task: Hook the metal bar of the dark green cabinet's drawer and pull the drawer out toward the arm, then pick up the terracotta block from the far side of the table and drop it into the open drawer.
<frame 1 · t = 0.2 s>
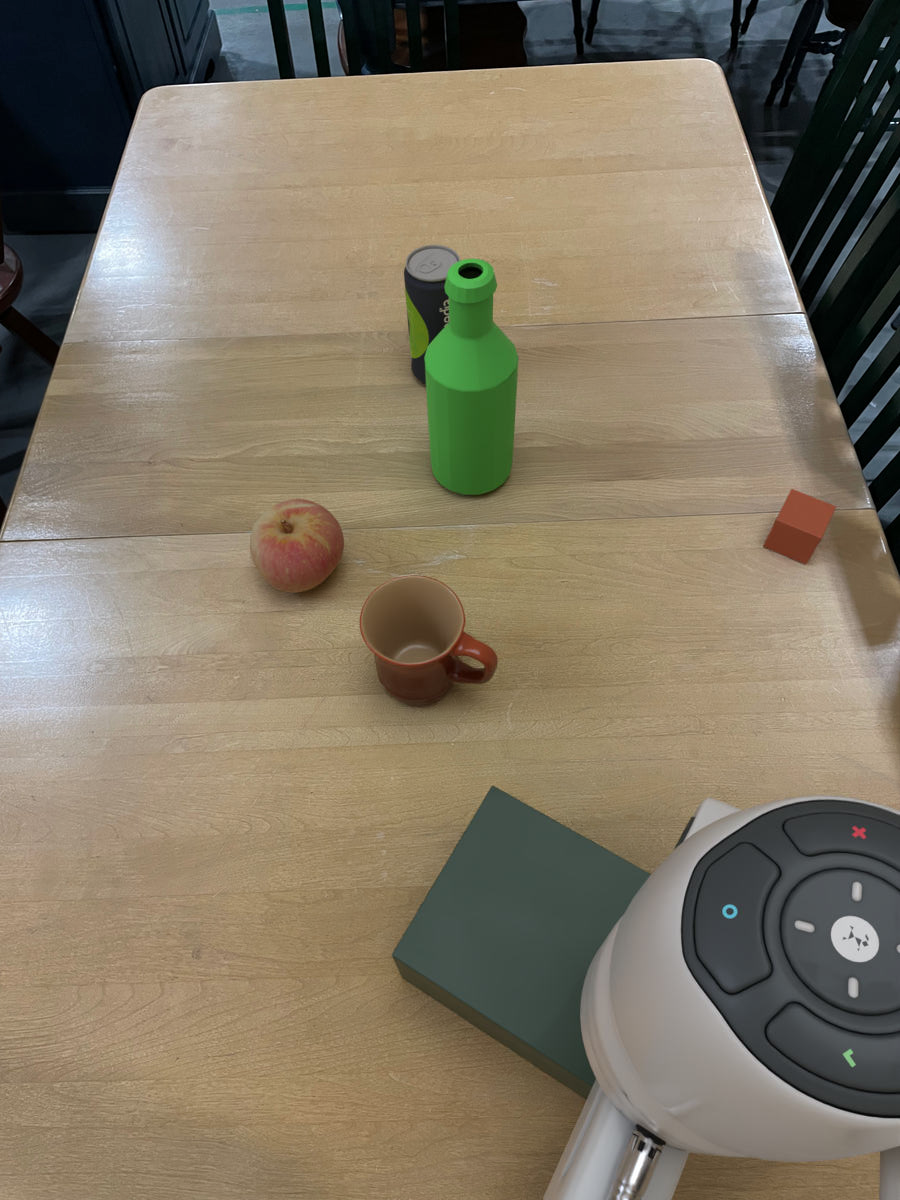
hand: (640, 1048, 44), 20 cm above the table, tool pointing down, fingers open, 8 cm apart
block: (791, 540, 86), on the table
cabinet: (534, 951, 66), on the table
apple: (303, 571, 86), on the table
drawer: (597, 975, 60), point 5 cm above the table, slide at 0.5 cm
beverage can: (438, 373, 100), on the table
bottle: (471, 469, 92), on the table
mug: (434, 682, 79), on the table
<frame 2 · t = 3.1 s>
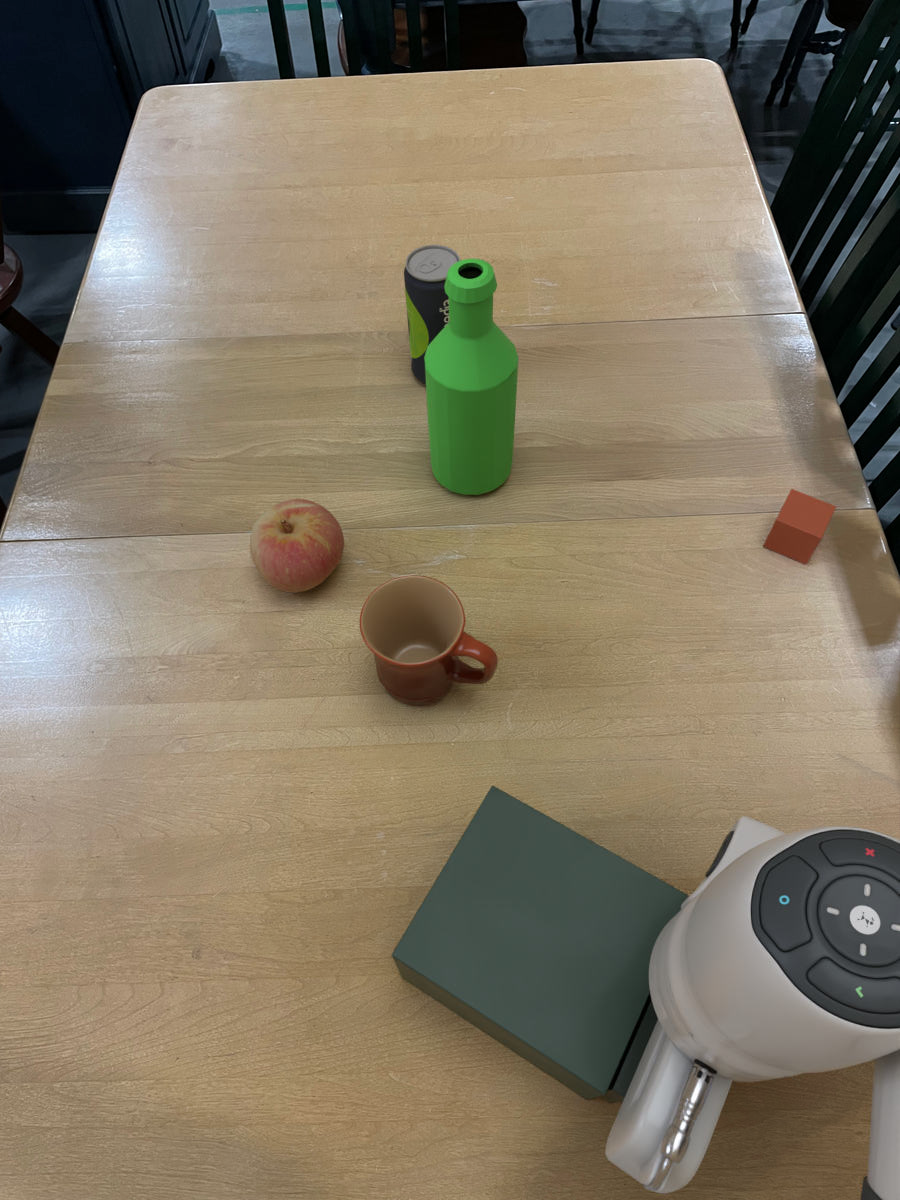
hand: (680, 1012, 55), 9 cm above the table, tool pointing down, fingers closed, pressing on drawer
drawer: (595, 974, 60), point 5 cm above the table, slide at 0.3 cm, touching gripper
everything else where it was.
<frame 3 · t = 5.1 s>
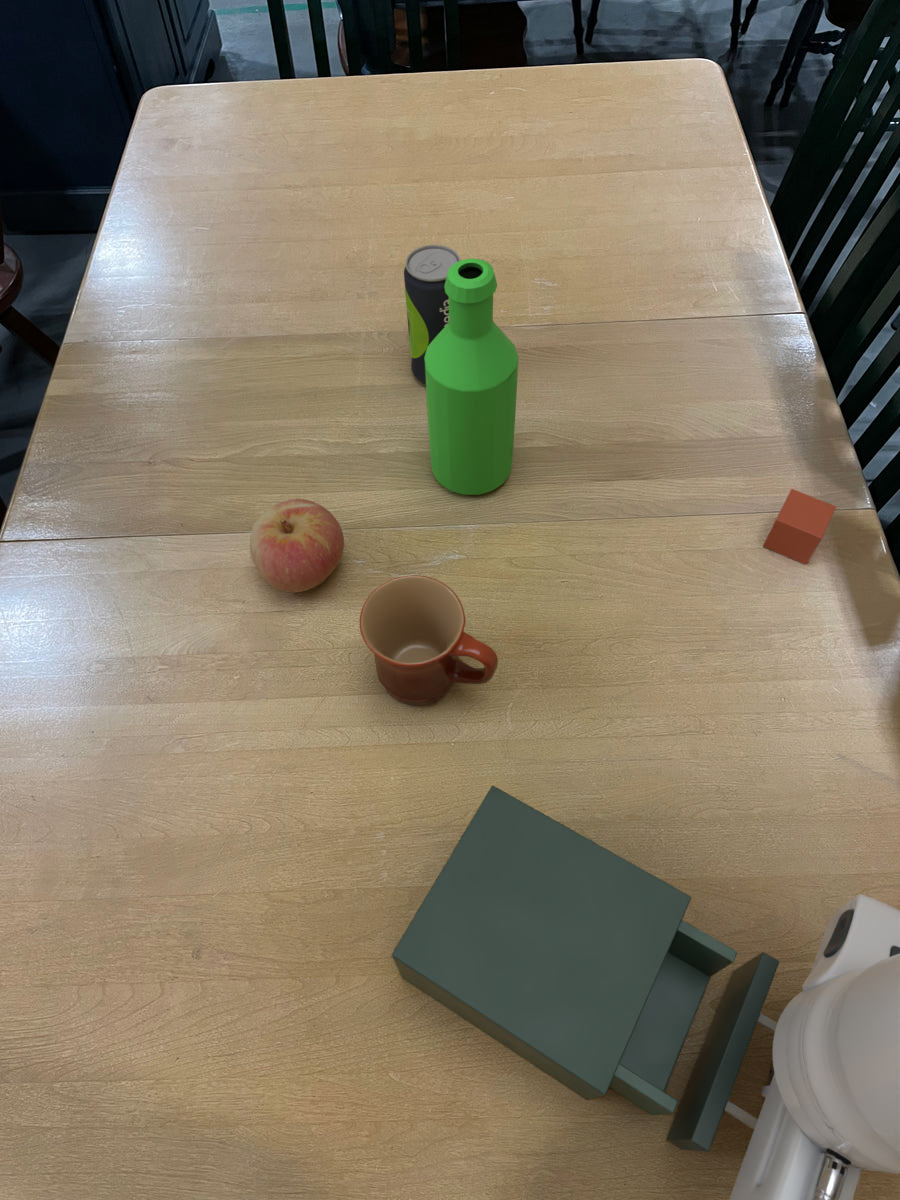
hand: (779, 1080, 55), 6 cm above the table, tool pointing down, fingers closed, pressing on drawer
drawer: (664, 1016, 59), point 5 cm above the table, slide at 5.6 cm, touching gripper
everything else where it was.
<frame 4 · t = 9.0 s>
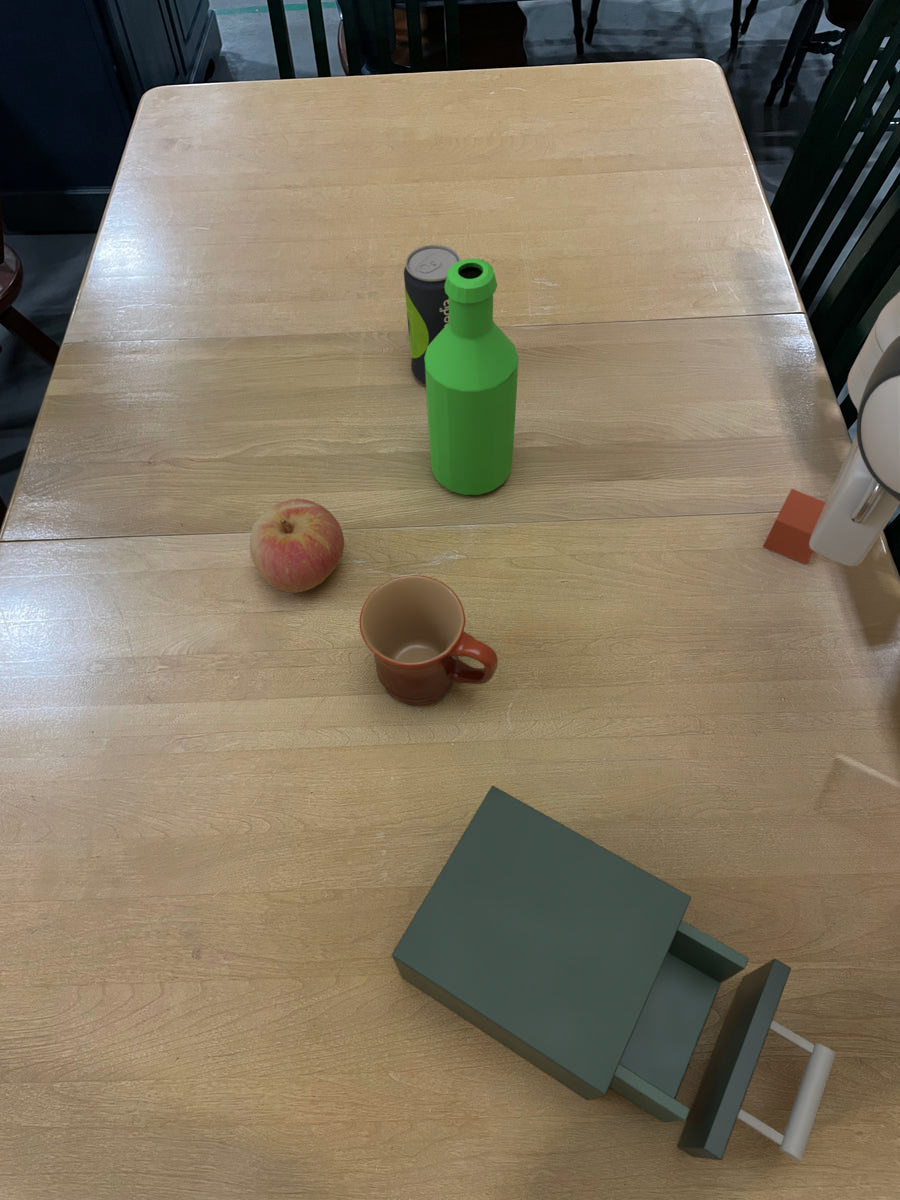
hand: (844, 506, 67), 17 cm above the table, tool pointing down, fingers closed
drawer: (674, 1022, 59), point 5 cm above the table, slide at 6.4 cm
everything else where it was.
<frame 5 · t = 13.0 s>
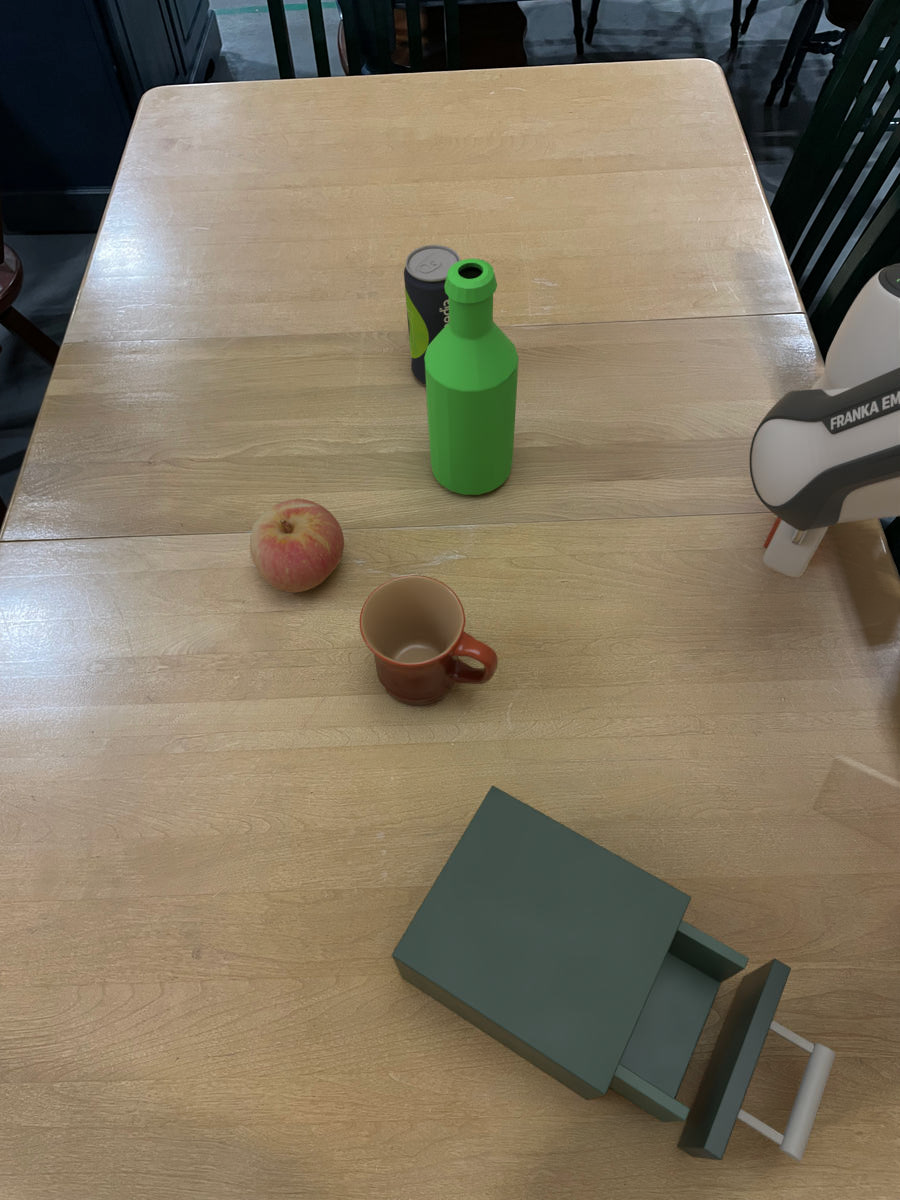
hand: (797, 530, 85), 2 cm above the table, tool pointing down, fingers closed on block, 4 cm apart
block: (791, 540, 86), on the table, touching gripper
everything else where it was.
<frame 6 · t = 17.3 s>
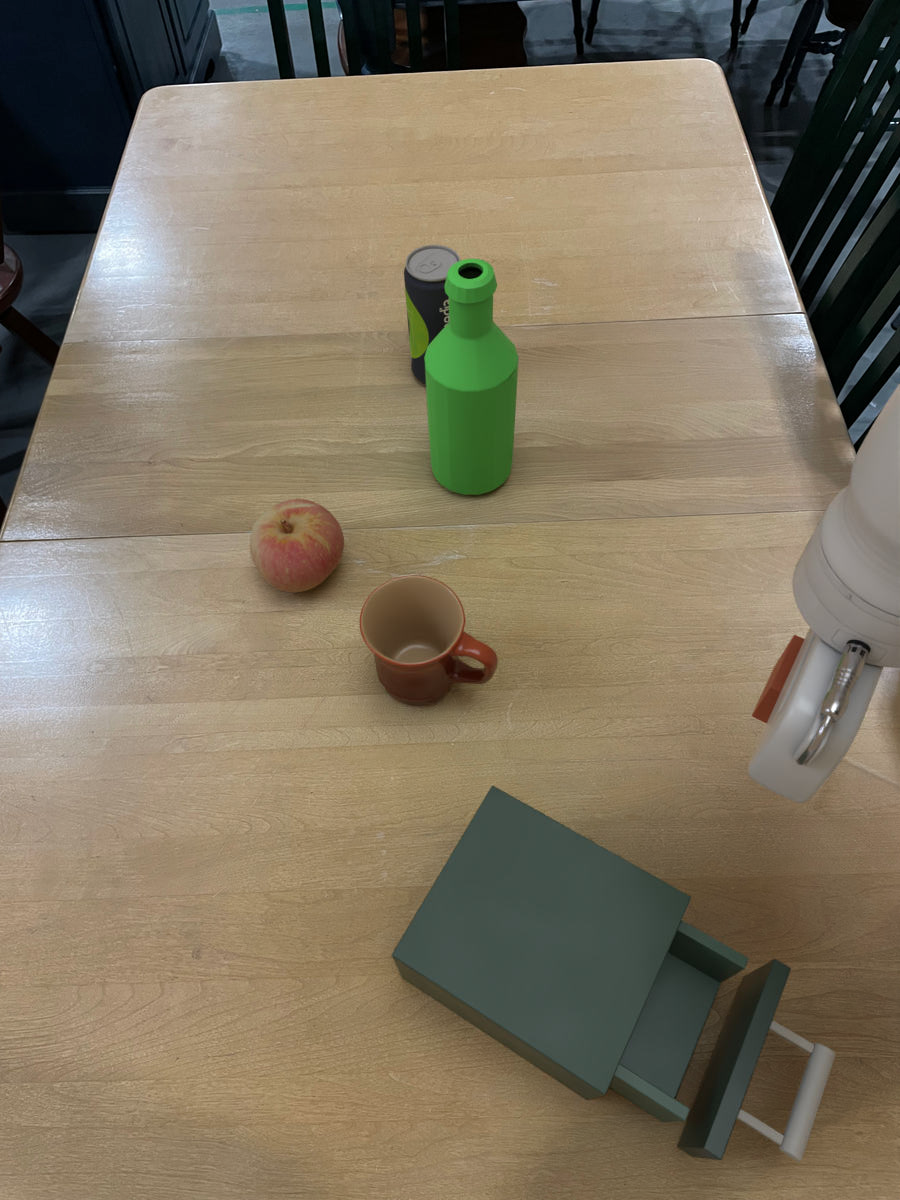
hand: (803, 696, 56), 19 cm above the table, tool pointing down, fingers closed on block, 4 cm apart
block: (794, 706, 58), point 17 cm above the table, touching gripper
everything else where it was.
when the fingers open (11 cm above the table, at t = 21.6 s): block drops 7 cm, resting on drawer.
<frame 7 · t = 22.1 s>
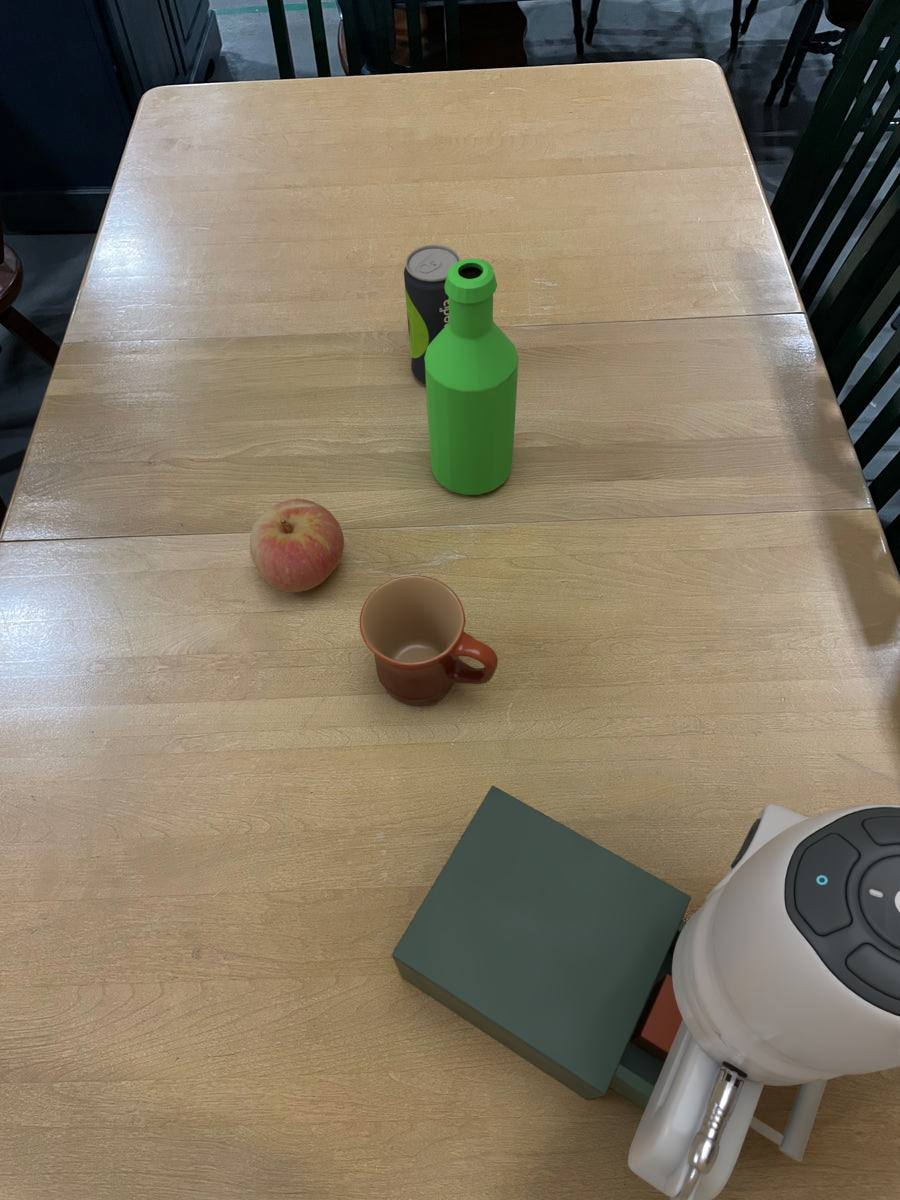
hand: (705, 1014, 53), 12 cm above the table, tool pointing down, fingers open, 8 cm apart
block: (671, 1029, 61), point 2 cm above the table, touching drawer
drawer: (674, 1022, 59), point 5 cm above the table, slide at 6.4 cm, touching block
everything else where it was.
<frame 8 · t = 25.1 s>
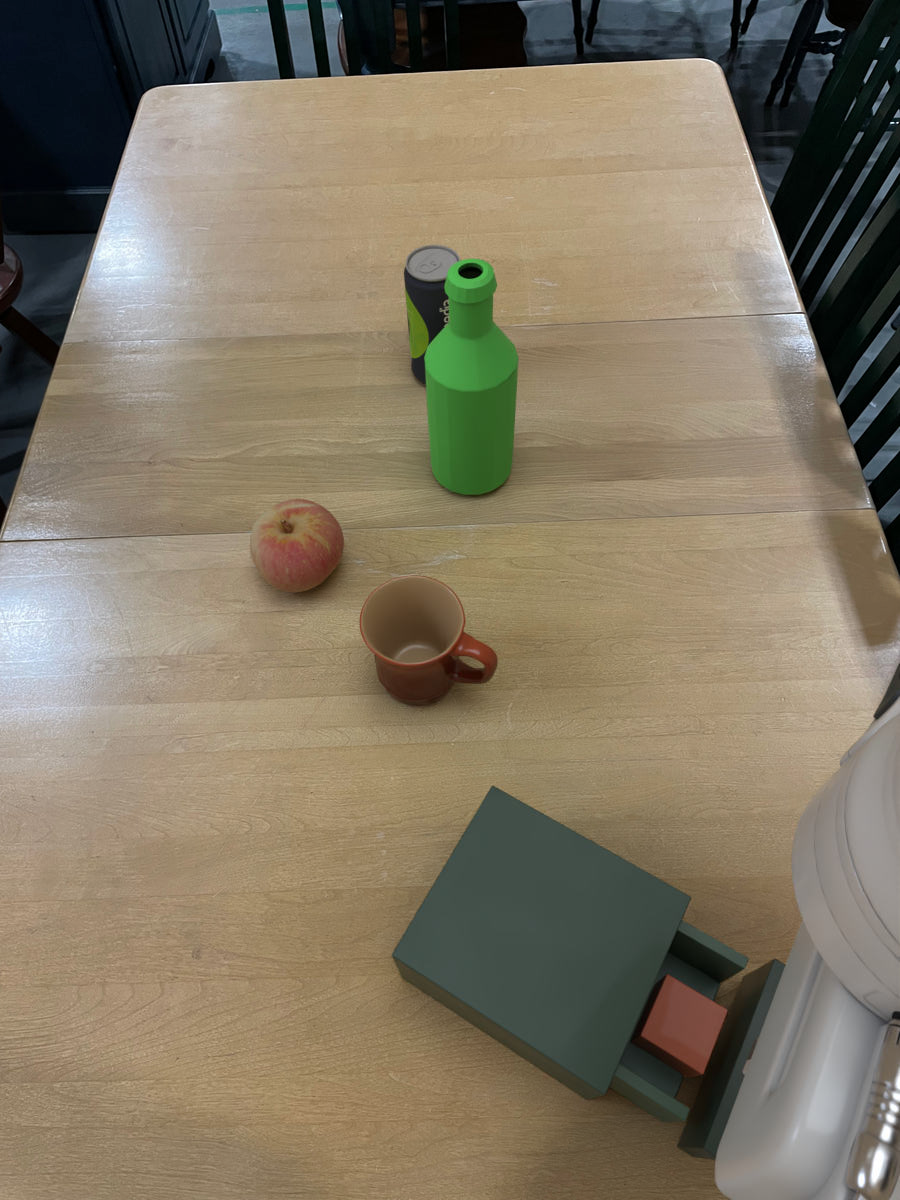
hand: (805, 961, 36), 31 cm above the table, tool pointing down, fingers open, 8 cm apart
nothing on the table moved.
at the end: drawer slide at 6.4 cm; block inside the target area in the drawer (0.0 cm from its centre), point 2.1 cm above the cabinet's base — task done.
